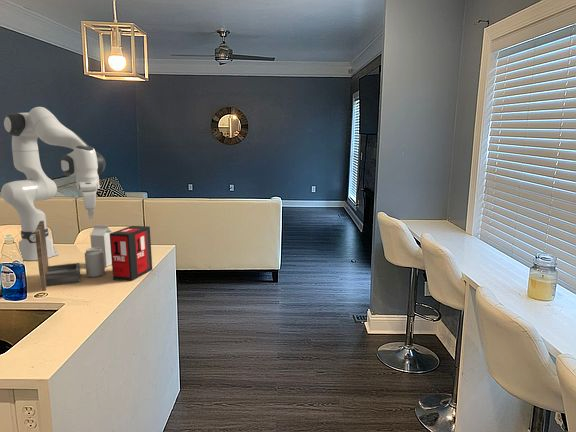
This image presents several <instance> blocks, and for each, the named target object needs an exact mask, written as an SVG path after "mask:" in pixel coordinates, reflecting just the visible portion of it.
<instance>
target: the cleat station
mask: <svg viewBox="0 0 576 432" xmlns="http://www.w3.org/2000/svg"><path fill="white" fill-rule="evenodd" d="M35 238H36V247H37V256H38V260H37V263H38V271H39V281H40V282H39V283H40V291H41V292H46V290H47V287H52V286H54V287H55V286H60V285H61V286H62V285H68V284H69V285H70V284H77V283H81V269H80V268H81V267H80V266H81V265H80V262H75V263H66V264H65V263H64V264H57V265H49V258H48V256H47V246H46V237H45V227H44V221H40V222H39V224H38V226H37V228H36V230H35Z"/></svg>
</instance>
